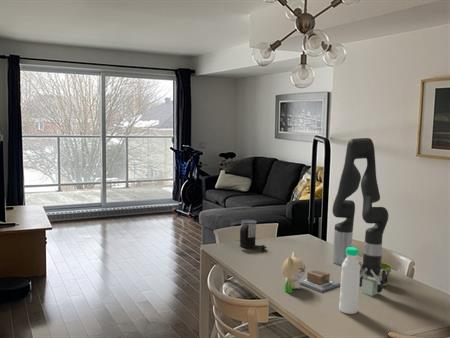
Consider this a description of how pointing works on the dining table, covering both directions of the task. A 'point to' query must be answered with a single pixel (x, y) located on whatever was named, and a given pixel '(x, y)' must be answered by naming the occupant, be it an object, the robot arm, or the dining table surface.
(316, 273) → the walnut base block
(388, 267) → the plant pot
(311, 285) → the plate
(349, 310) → the water bottle
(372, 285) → the sage block
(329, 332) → the dining table surface
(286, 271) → the kitten
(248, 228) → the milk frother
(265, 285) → the dining table surface
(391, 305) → the dining table surface
